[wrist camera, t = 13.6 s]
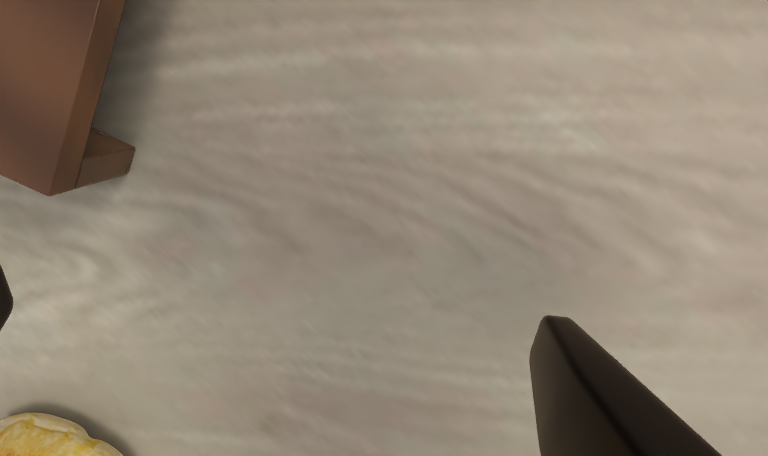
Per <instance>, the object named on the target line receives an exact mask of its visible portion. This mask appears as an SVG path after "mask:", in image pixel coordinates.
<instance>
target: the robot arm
mask: <svg viewBox="0 0 768 456" xmlns="http://www.w3.org/2000/svg"><path fill="white" fill-rule="evenodd" d="M12 308H13V297H12V294H11V291H10V289H9V286H8V283H7V280H6V278H5V275H4V272H3V269H2V267H1V265H0V330H1V329H2V327H3V325H4V324H5V322H6V320H7V319H8V317H9V315H10V313H11V311H12ZM530 372H531V381H532V389H533V398H534V406H535V415H536V423H537V432H538V440H539V447H540V452H541V456H722V455H721V454H720V453H718V452H717V451H716V450H715V449H714V448H713V447H712V446H711V445H710V444H708V443H707V442H706V441H705V440H704V439H703V438H702V437H701V436H700V435H699V434H697V433H696V432H695V431H694V430H693V429H692V428H691V427H690V426H689V425H687V424H686V423H685V422H684V421H683V420H682V419H681V418H680V417H679V416H678V415H676V414H675V413H674V412H673V411H672V410H671V409H670V408H669V407H668V406H667V405H665V404H664V403H663V402H662V401H661V400H660V399H659V398H658V397H657V396H655V395H654V394H653V393H652V392H651V391H650V390H649V389H648V388H647V387H646V386H644V385H643V384H642V383H641V382H640V381H639V380H638V379H637V378H636V377H634V376H633V375H632V374H631V373H630V372H629V371H628V370H627V369H626V368H625V367H623V366H622V365H621V364H620V363H619V362H618V361H617V360H616V359H615V358H614V357H612V356H611V355H610V354H609V353H608V352H607V351H606V350H605V349H604V348H602V347H601V346H600V345H599V344H598V343H597V342H596V341H595V340H594V339H593V338H591V337H590V336H589V335H588V334H587V333H586V332H585V331H584V330H583V329H581V328H580V327H579V326H578V325H577V324H576V323H575V322H574V321H573V320H571V319H570V318H567V317H560V316H550V315H547V316H545V317H543V319H542V320H541V322H540V325H539V328H538V331H537V333H536V336H535V339H534V342H533V345H532V348H531V351H530Z"/></svg>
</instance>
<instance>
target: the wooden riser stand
mask: <svg viewBox="0 0 768 456" xmlns="http://www.w3.org/2000/svg"><path fill="white" fill-rule="evenodd" d="M125 1H126V0H0V175H3V176H5V177H7V178H9V179H11V180H14V181H16V182H18V183H20V184H22V185H25V186H27V187H29V188H31V189H33V190H36V191H38V192H40V193H42V194H44V195H47V196H53V195H56V194H60V193H63V192H67V191H70V190H73V189H76V188H80V187H83V186H87V185H90V184H94V183H97V182H101V181H104V180H108V179H111V178H115V177H118V176H122V175H125V174H127V173H128V171H129V168H130V164H131V161H132V158H133V155H134V151H135V148H134V147H133V146H131V145H128V144H126V143H124V142H122V141H120V140H117V139H115V138H113V137H111V136H109V135H107V134H104V133H102V132H100V131H98V130H96V129H94V128H91V124H92V120H93V117H94V113H95V109H96V106H97V102H98V99H99V95H100V91H101V88H102V84H103V80H104V77H105V73H106V69H107V66H108V62H109V59H110V55H111V51H112V48H113V44H114V40H115V37H116V33H117V30H118V26H119V22H120V19H121V15H122V11H123V8H124V4H125Z"/></svg>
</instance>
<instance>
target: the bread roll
mask: <svg viewBox="0 0 768 456" xmlns="http://www.w3.org/2000/svg"><path fill="white" fill-rule="evenodd" d="M0 456H123V455H122V454H121V453H120V452H119V451H118V450H117V449H115V448H114V447H113V446H111V445H110V444H108V443H106V442H104V441H102V440H97V439H93V438H90V437H89V436H88V434H87V432H86V431H85V429H84V428H82V427H81V426H80V425H79V424H77V423H74V422H72V421H70V420H67V419H63V418H60V417H57V416H54V415H51V414H45V413H21V414H17V415H14V416H9V417H6V418H3V419H1V420H0Z"/></svg>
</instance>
